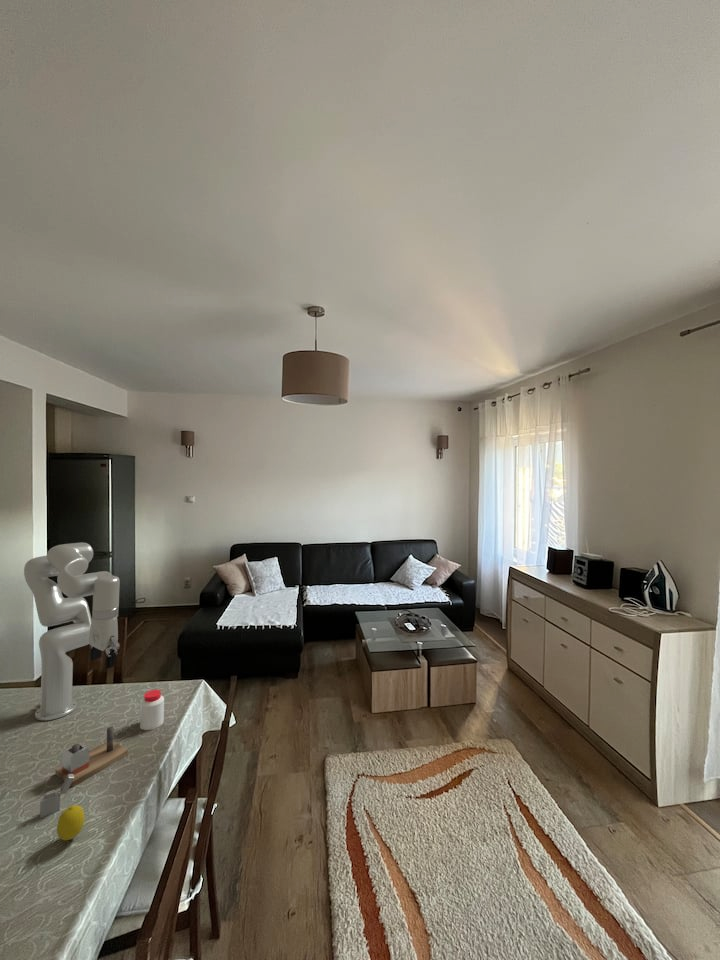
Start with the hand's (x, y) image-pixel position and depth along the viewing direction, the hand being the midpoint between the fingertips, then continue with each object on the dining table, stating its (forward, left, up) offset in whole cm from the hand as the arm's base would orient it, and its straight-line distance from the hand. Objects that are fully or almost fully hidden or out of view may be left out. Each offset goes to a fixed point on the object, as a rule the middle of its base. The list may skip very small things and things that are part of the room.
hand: (103, 662), depth 135 cm
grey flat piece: (+20, -22, -27) cm, 40 cm away
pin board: (+10, -8, -26) cm, 29 cm away
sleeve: (+10, -12, -25) cm, 29 cm away
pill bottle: (+6, +14, -27) cm, 31 cm away
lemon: (+33, -24, -27) cm, 49 cm away
